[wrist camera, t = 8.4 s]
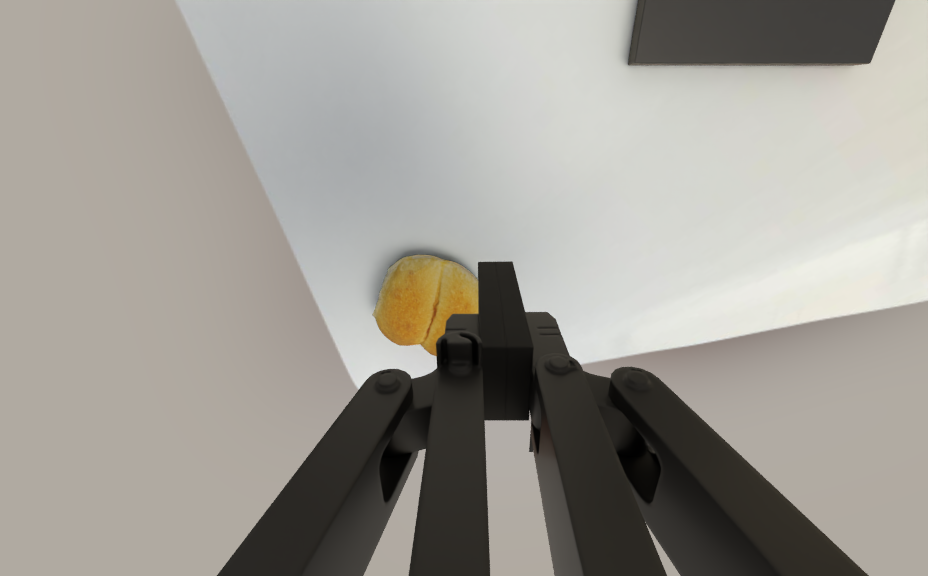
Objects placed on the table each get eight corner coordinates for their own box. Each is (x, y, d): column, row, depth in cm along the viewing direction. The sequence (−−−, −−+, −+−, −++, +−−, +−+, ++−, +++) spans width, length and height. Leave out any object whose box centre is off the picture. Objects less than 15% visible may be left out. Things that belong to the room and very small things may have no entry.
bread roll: (467, 354, 34) (466, 384, 30) (370, 322, 33) (357, 348, 29) (505, 276, 31) (509, 298, 27) (398, 236, 29) (387, 254, 26)
